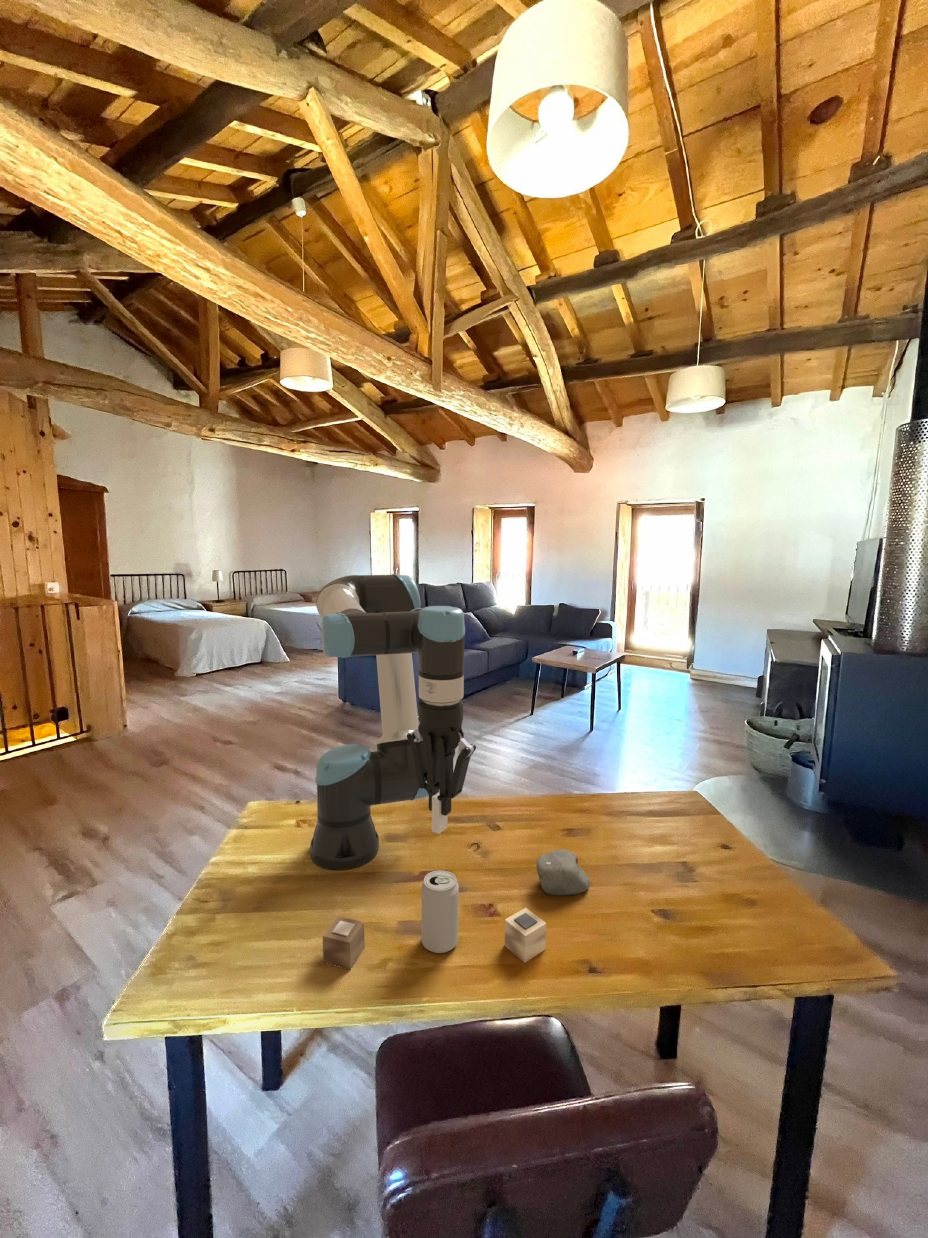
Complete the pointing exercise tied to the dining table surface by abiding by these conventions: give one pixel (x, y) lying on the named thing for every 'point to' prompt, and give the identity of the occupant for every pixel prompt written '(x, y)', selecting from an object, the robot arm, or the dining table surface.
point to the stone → (561, 873)
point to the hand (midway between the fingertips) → (439, 829)
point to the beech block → (525, 934)
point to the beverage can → (440, 911)
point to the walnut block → (343, 942)
